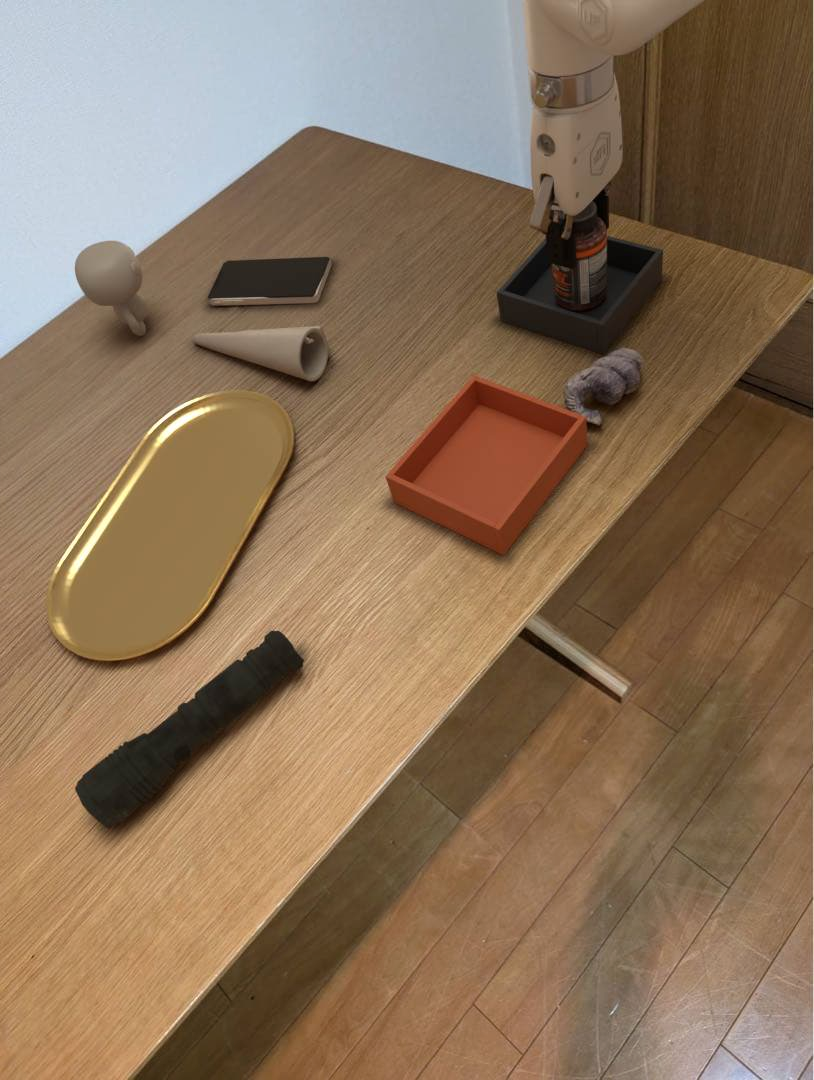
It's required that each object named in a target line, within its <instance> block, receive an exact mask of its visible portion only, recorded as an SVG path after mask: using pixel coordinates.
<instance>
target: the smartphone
mask: <svg viewBox="0 0 814 1080" xmlns="http://www.w3.org/2000/svg"><path fill="white" fill-rule="evenodd" d="M331 268H332V261H331V258H330V257H328V256H311V257H287V258H285V257H284V258H264V259H238V260H227V261H224V262H223V263H222V265H221V267H220V270H219V272H218V274H217V276H216V279H215V281H214V283H213V285H212V287H211V289H210V291H209V293H208V295H207V300H208V302H209V304H210V305H211V306H215V307H216V306H217V307H218V306H219V307H220V306H251V305H254V306H256V305H257V306H258V305H294V304H315V303H319V301H320V299H321V296H322V293H323V290H324V287H325V284H326V283H327V280H328V276H329V273H330V270H331Z"/></svg>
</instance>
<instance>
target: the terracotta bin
mask: <svg viewBox="0 0 814 1080" xmlns="http://www.w3.org/2000/svg"><path fill="white" fill-rule="evenodd" d="M587 422H588V421H587V420H586V417H585V416H583V415H580V414H577V413H575V412H572V411H569V410H567V408H563V407H561V406H559V405H556V404H553V403H550V402H548V401H545V400H542V399H540V398H538V397H537V398H536V397H534V396H532V395H529V394H526V393H524V392H520V391H518V390H515V389H512V388H510V387H507V386H505V385H502V384H499V383H497V382H494V381H491V380H489V379H485V378H483V377H480V376H478V375H474V374H473V375H472V376H471V377H470V378H469V380H468V381H467V382H466V383H465V384H464V385H463V387H462V388H461V389H460V390H459V391H458V392H457V393H456V394H455V396H454V397H453V398H452V399H451V400H450V402H448V403H447V405H446V406H445V407H444V408H443V409H442V410H441V412H440V413H439V414H438V415H437V416H436V417H435V418H434V420H433V421H432V422H431V423H430V425H428V426H427V428H426V429H425V430H424V431H423V433H421V435H420V436H419V437H418V438H417V439H416V440H415V442H414V443H413V444H412V445H411V446H410V447H409V448H408V450H407V451H406V452H404V454H403V455H402V457H400V459H399V460H398V461H397V462H396V464H395V465H394V466H393V467H392V468H391V469H390V470H389V472H388V473H386V475H385V481H386V483H387V485H388V489H389V492H390V495H391V498H392V501H393V502H394V503H395V504H396V505H399V506H401V507H403V508H405V509H407V510H410V511H412V512H414V513H416V514H418V515H420V516H421V517H424V518H426V519H428V520H429V521H431V522H434V523H436V524H438V525H440V526H443V527H444V528H446V529H449V530H451V531H453V532H455V533H456V534H459V535H461V536H463V537H465V538H467V539H469V540H471V541H473V542H475V543H477V544H480V545H482V546H483V547H485V548H488V549H490V550H491V551H494V552H496V553H498V554H500V555H502V556H505V555H506V553H508V551H509V549H510V548H511V547H512V545H513V544H514V543H515V541H516V540H517V539H518V537H519V536H520V535H521V533H522V532H524V529H526V527H527V526H528V524H529V523H530V522H531V521H532V519H533V518H534V516H535V515H536V514H537V513H538V511H539V510H540V509H541V507H542V506H543V505H544V503H545V502H546V501H547V499H548V498H549V497H550V495H551V494H552V493H553V492H554V490H555V489H556V487H557V486H558V485H559V483H560V482H561V481H562V480H563V478H564V477H565V476H566V474H567V473H568V472H569V470H570V469H571V468H572V466H573V465H574V464H575V462H576V461H577V460H578V458H579V457H580V456H581V454H582V453H583V452H584V450H585V449H586V448H587V447H588V445H589V444H588V426H587V425H588V423H587Z"/></svg>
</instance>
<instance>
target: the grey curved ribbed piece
mask: <svg viewBox="0 0 814 1080" xmlns="http://www.w3.org/2000/svg"><path fill="white" fill-rule="evenodd" d="M644 361H645V358H643V356H641V355H640V353H639V352H638V351H637V350H635V349H631V348H628V347H627V348H626V347H624V346H621V347H618V349H617V350H611V351H610V352H609V353H608V354H606V355H605V356H603V357H601V358H598V359H597V360H596V361H594V362H593V363H592V364H590V365H589V367H588V368H587V367H586V368H584V369H581V371H579V372H577V373H576V374H574V375H573V377H570V378H569V379H568V380H567V381H566V383H565V386H564V388H563V392H562V393H563V397H564V405H565V409H567V410H569V411H572V412H575V413H577V414H580V415H583V416H585V417H586V420H587V422H588V423H592V425H597V427H598V426H600V425H602V424H603V423H604V422H605V421H604V420H603V418H602V416H601V415H600V413H599V409H597V410H596V409H595V410H593V409H590V408H587V407H585V400H586V397H587V395H589V394H590V395H591V396H592V398H593V399H595V400H597V401H598V402H600V403H603V404H606V405H615V404H616V403H618V402H620V401H621V399H623V396H624V395H629V394H630V393H633V392H634V391H636V389H638V387H639V385H640V384H641V375H640V371H642V369H643V368H644V365H645V363H644Z"/></svg>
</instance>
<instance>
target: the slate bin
mask: <svg viewBox="0 0 814 1080" xmlns="http://www.w3.org/2000/svg"><path fill="white" fill-rule="evenodd" d="M663 263H664V249H662V248H657V247H653V246H649V245H645V244H642V243H637V242H633V241H629V240H626V239H622V238H617V237H614V236H610V235H607V295H606V297H605V299H604V300H603V301H602V302H601V303H600V304H599V305H598V306H596V307H595V308H592V309H589V310H585V311H571V310H567V309H565V308H563V307H561V306H560V305H559V304H558V303H557V302H556V300H555V296H554V288H553V275H552V264H551V263H549V262H548V258H547V245H546V237H545V238H544V239H543V240H542V241H541V243H540V244H539V245H538V246H537V247H536V248H535V249H534V250H533V252H531V253H530V255H529V256H528V257H527V258H526V259H525V260H524V261H523V262H522V263H521V265H520V266H519V267H518V268H517V269H516V270H515V271H514V272H513V273H512V275H511V276H509V278H508V279H507V280H506V281H505V282H504V283H503V284H502V286H501V287H500V288H499V289H498V290H497V291H496V297H497V305H498V311H499V313H498V314H499V319H500V322H504V323H506V324H508V325H512V326H515V327H518V328H522V329H524V330H527V331H530V332H533V333H536V334H540V335H543V336H545V337H549V338H552V339H555V340H558V341H561V342H563V343H567V344H570V345H572V346H576V347H578V348H582V349H585V350H588V351H591V352H595V353H598V354H601V355H604V354H605V352H606V351H607V350H608V348H609V347H610V346H611V345H612V344H613V342H614V341H615V340H616V339H617V338H618V336H619V335H620V334H621V332H622V331H623V330H624V329H625V328H626V327H627V325H628V324H629V322H630V321H631V320H632V319H633V317H634V316H635V315H636V313H637V312H638V311H639V310H640V309H641V307H642V306H643V305H644V303H646V301H647V300H648V298H649V297H650V296H651V294H652V293H653V292H654V291H655V290H656V288H658V286H659V284H660V283H661V282H662V281H663V267H664V266H663V265H664V264H663Z"/></svg>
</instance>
